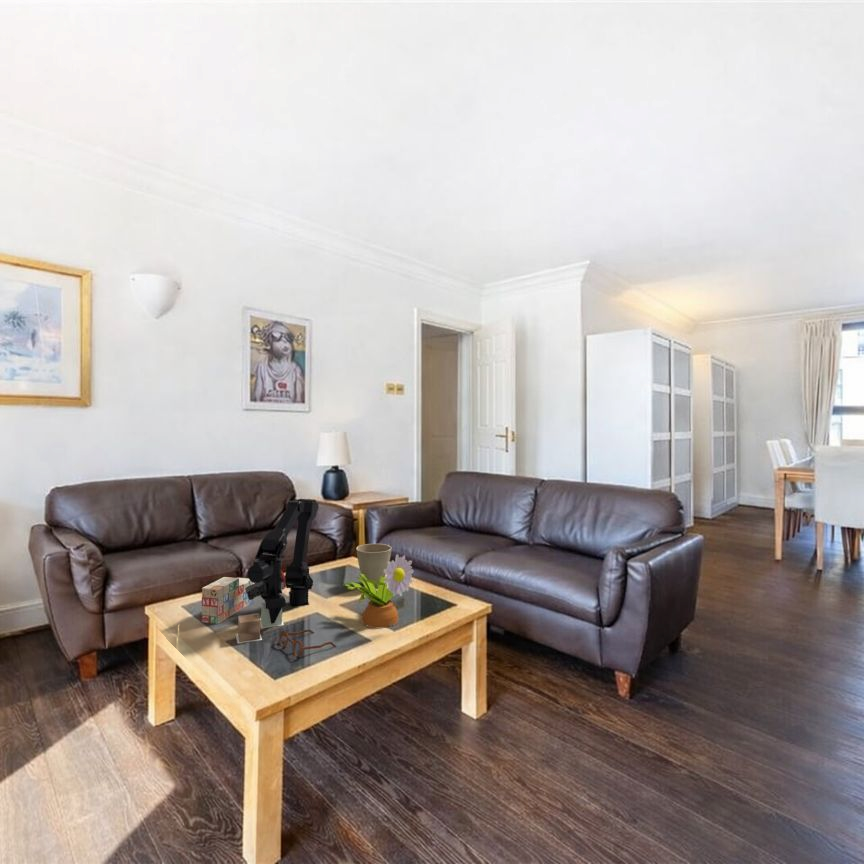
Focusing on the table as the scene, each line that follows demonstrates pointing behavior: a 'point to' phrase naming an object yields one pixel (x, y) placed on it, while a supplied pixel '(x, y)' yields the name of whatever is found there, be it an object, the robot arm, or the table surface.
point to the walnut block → (248, 627)
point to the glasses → (300, 641)
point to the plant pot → (373, 560)
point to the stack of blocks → (224, 598)
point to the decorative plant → (384, 593)
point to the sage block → (266, 617)
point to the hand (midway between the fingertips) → (271, 619)
